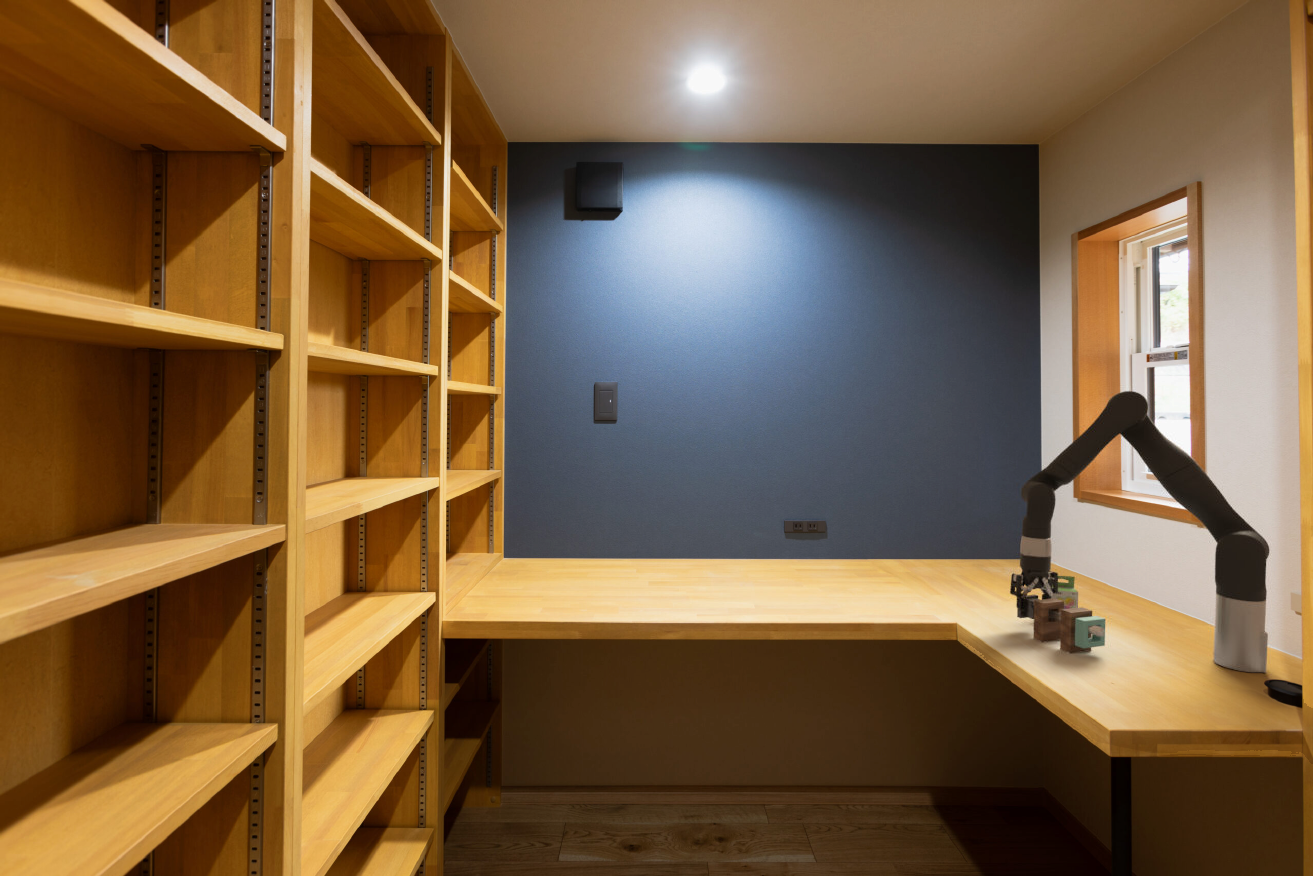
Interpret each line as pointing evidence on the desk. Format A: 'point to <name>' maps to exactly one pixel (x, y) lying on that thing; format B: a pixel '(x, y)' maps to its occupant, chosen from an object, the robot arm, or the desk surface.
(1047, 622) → the bearing blocks
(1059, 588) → the ink box
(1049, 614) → the shaft
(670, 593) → the desk surface
